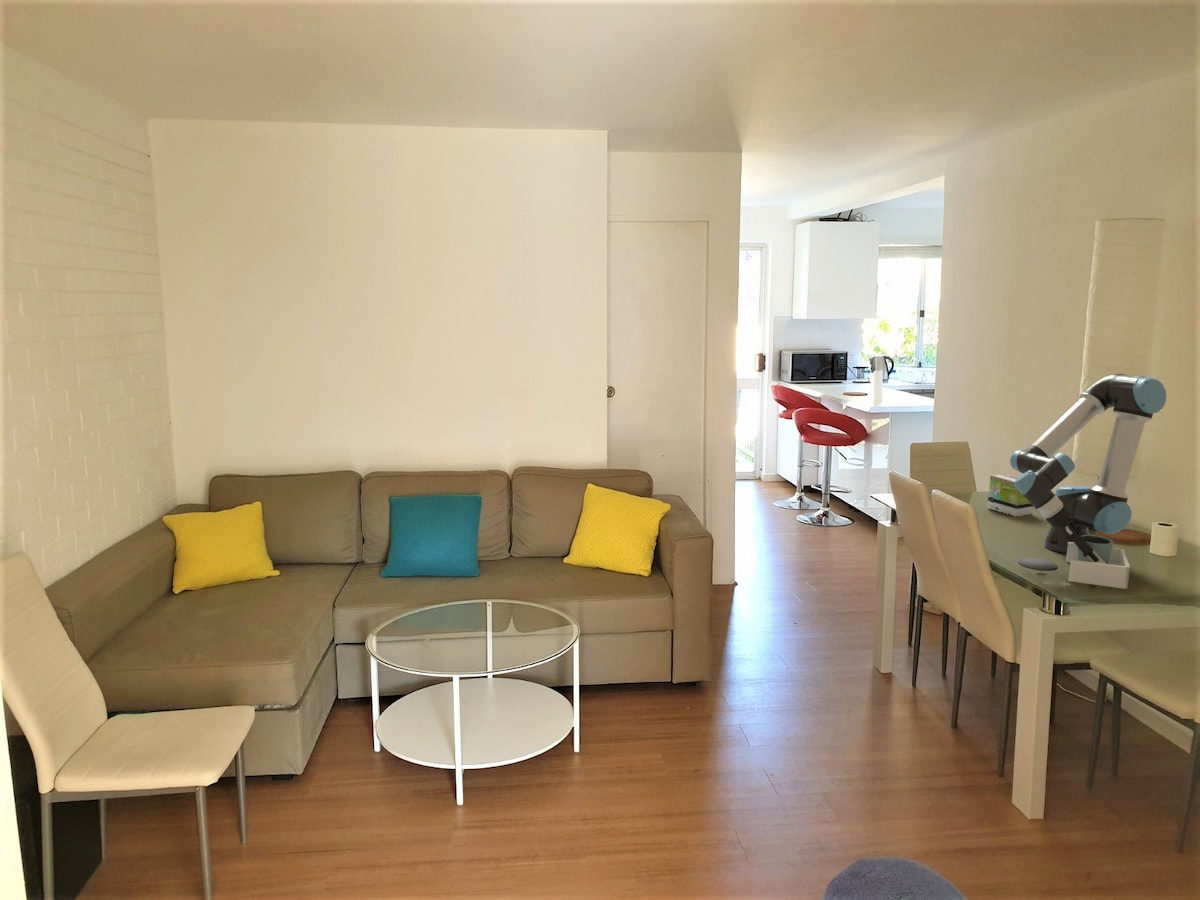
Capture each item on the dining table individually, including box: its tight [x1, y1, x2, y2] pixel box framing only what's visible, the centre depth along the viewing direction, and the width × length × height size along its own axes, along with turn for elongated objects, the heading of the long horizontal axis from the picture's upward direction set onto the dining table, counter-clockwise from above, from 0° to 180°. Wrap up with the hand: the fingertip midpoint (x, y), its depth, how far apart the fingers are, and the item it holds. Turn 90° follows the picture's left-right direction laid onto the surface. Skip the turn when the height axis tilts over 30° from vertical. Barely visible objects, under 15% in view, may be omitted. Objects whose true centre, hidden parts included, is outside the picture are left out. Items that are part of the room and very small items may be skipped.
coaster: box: [1017, 557, 1058, 571], centre depth 299 cm, size 12×12×1 cm
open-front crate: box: [1065, 542, 1131, 590], centre depth 288 cm, size 23×16×7 cm
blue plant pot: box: [1077, 534, 1114, 564], centre depth 288 cm, size 10×10×12 cm
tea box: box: [987, 473, 1034, 517], centre depth 367 cm, size 15×10×15 cm
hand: (1103, 563), depth 287 cm, fingers closed on blue plant pot, 10 cm apart
